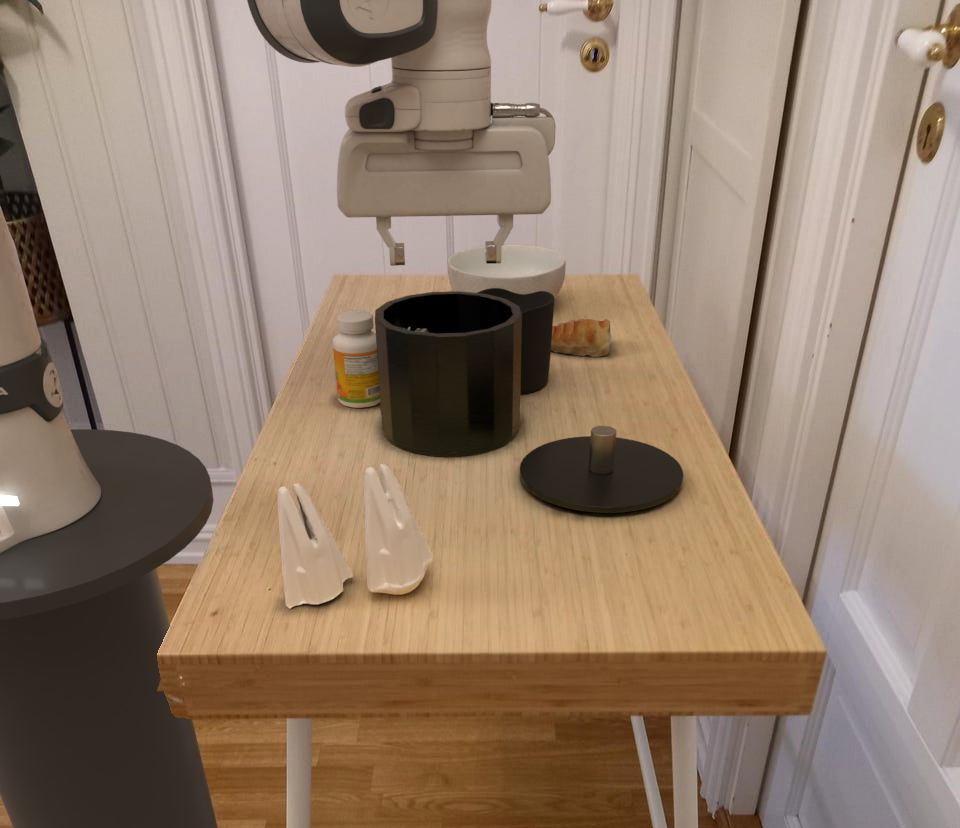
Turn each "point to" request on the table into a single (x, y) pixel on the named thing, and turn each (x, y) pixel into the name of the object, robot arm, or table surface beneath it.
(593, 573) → the table surface
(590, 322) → the pastry
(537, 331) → the pen holder
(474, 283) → the cereal bowl
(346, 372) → the supplement bottle
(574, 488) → the lid
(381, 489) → the shaker set
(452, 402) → the tin
